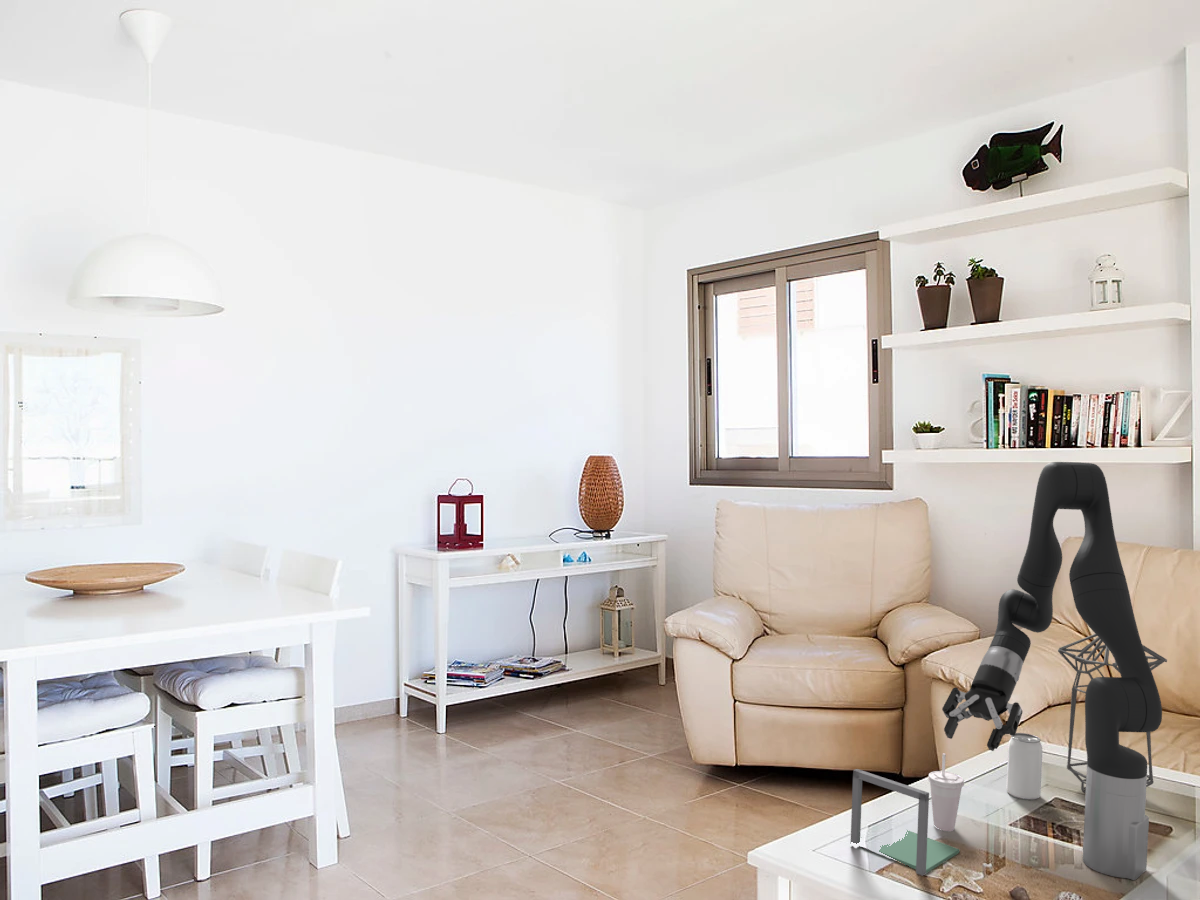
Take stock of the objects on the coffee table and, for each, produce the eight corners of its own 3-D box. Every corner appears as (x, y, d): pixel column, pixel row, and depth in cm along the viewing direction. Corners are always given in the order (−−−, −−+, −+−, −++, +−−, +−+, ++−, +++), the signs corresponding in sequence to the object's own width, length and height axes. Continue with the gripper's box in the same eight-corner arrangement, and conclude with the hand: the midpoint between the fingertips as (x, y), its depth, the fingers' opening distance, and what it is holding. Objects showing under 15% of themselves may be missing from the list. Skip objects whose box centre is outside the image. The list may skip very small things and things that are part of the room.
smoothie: (933, 816, 186) (936, 746, 185) (966, 826, 182) (969, 754, 181) (921, 827, 181) (924, 754, 180) (955, 837, 177) (958, 763, 176)
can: (1045, 801, 195) (1048, 743, 194) (1014, 800, 195) (1016, 742, 194) (1032, 788, 201) (1034, 732, 201) (1001, 787, 201) (1003, 731, 201)
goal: (959, 852, 171) (962, 775, 170) (922, 875, 162) (925, 794, 161) (888, 826, 181) (891, 753, 180) (850, 846, 172) (853, 770, 171)
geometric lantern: (1107, 814, 189) (1110, 638, 189) (1050, 785, 204) (1052, 623, 204) (1171, 806, 194) (1174, 634, 193) (1110, 778, 209) (1113, 619, 208)
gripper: (958, 656, 197) (928, 722, 190) (1028, 671, 187) (999, 742, 179) (969, 677, 201) (940, 742, 194) (1038, 693, 190) (1010, 763, 183)
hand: (968, 742), depth 187 cm, fingers open, 8 cm apart
